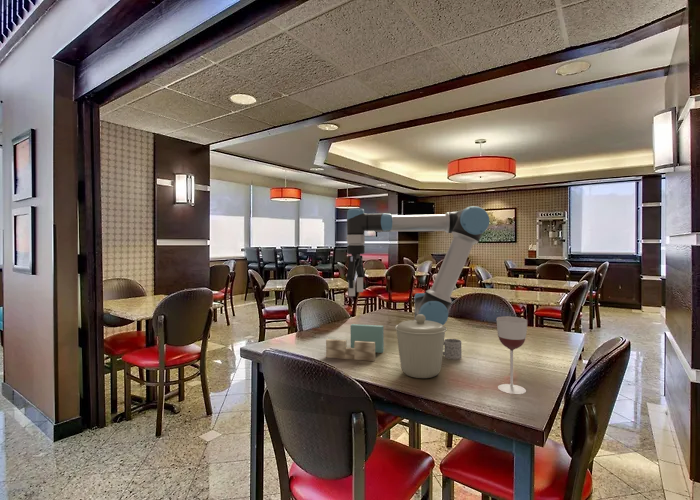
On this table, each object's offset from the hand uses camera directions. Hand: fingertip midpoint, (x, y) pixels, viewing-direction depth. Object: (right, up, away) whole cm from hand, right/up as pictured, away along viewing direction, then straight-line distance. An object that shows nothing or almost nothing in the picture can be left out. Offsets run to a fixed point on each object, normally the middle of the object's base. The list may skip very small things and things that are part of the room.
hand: (356, 294), depth 164 cm
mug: (+37, -25, -10) cm, 46 cm away
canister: (+22, -25, -30) cm, 45 cm away
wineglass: (+48, -25, -45) cm, 70 cm away
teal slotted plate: (+5, -24, -1) cm, 25 cm away
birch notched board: (-2, -25, -11) cm, 27 cm away
